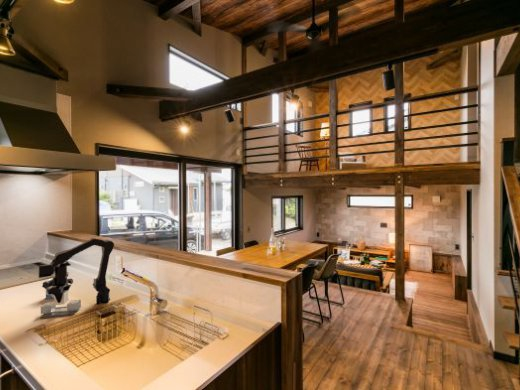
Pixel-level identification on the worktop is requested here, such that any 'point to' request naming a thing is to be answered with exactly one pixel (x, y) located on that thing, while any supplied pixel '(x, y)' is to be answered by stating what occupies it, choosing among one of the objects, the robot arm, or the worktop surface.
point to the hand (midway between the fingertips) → (61, 300)
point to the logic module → (63, 300)
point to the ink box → (49, 296)
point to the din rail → (59, 309)
